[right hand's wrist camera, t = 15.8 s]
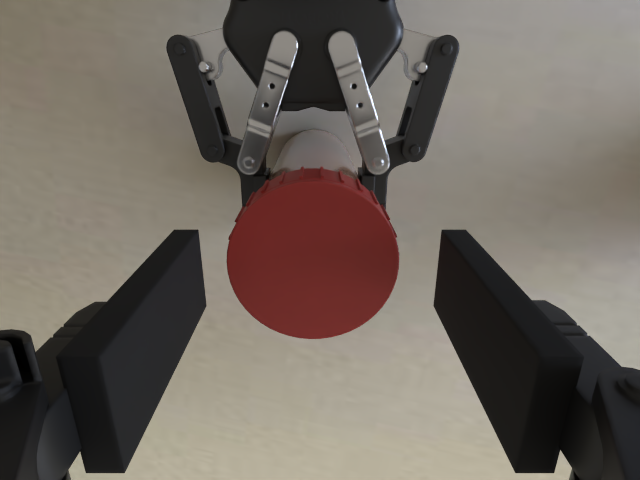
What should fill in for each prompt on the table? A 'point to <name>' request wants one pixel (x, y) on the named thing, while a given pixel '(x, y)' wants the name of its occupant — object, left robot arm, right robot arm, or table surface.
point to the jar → (314, 154)
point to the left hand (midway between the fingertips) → (313, 235)
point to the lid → (313, 254)
